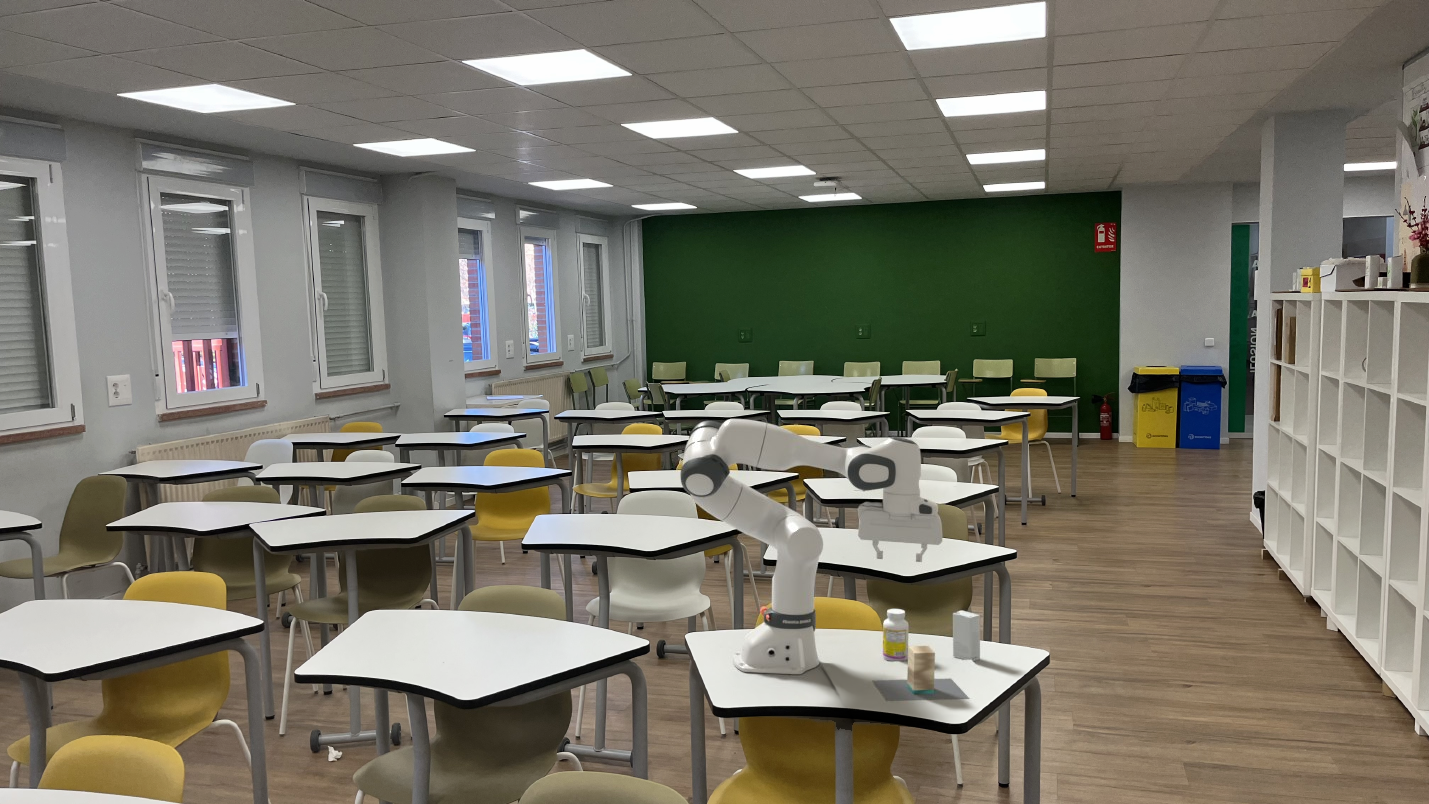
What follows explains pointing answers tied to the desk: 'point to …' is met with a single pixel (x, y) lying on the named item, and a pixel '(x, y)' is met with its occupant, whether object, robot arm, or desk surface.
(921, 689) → the birch block
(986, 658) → the desk surface
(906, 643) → the supplement bottle
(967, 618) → the skincare box
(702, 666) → the desk surface
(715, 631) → the desk surface
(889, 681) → the rubber mat
